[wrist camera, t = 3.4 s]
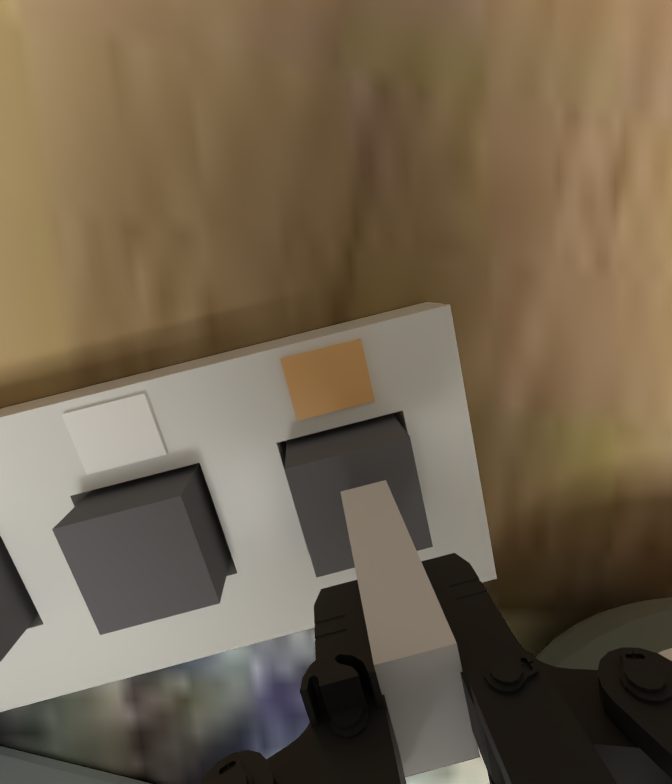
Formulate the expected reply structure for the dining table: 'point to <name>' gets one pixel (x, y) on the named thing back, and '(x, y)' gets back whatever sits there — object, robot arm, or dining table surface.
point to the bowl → (613, 635)
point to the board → (227, 484)
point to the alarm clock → (51, 771)
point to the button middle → (146, 548)
